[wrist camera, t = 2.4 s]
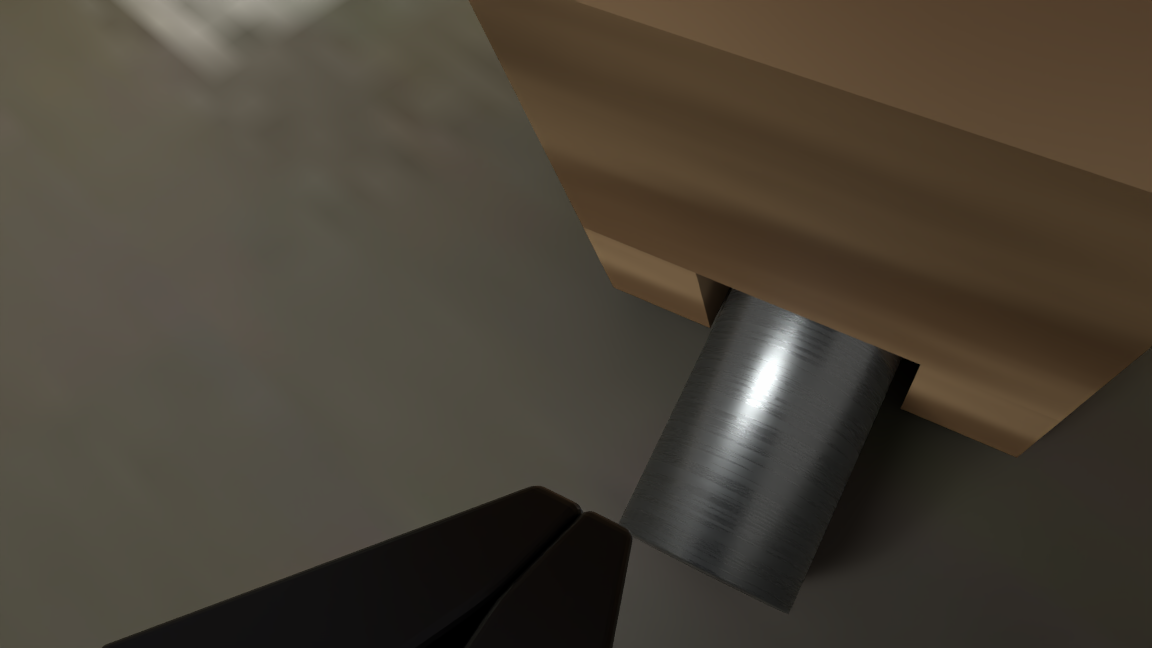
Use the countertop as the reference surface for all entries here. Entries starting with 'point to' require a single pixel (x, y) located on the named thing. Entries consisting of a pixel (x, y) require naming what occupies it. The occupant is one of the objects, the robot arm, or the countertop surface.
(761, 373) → the steel pipe
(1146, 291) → the rectangular wooden block
